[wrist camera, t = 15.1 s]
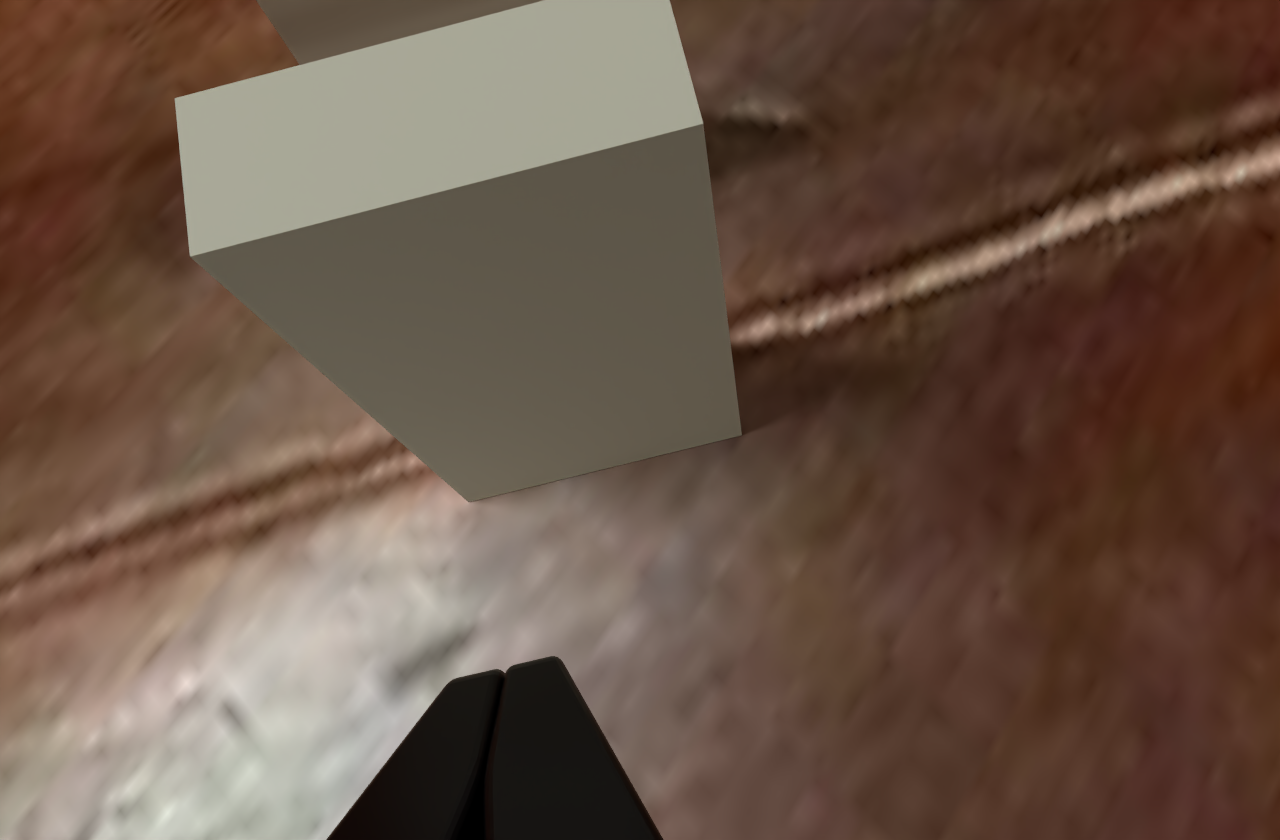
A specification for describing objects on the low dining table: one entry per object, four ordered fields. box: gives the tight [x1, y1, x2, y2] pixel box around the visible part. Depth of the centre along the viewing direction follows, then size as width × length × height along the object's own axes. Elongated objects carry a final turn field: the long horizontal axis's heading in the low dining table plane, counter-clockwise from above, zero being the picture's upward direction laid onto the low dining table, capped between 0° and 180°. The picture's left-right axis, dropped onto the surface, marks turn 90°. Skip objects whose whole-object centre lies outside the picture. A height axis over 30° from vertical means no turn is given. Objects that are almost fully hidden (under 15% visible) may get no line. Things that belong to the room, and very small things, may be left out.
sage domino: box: [175, 0, 742, 502], centre depth 16 cm, size 2×5×10 cm, turn 103°
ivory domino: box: [256, 0, 543, 65], centre depth 17 cm, size 2×5×10 cm, turn 102°
